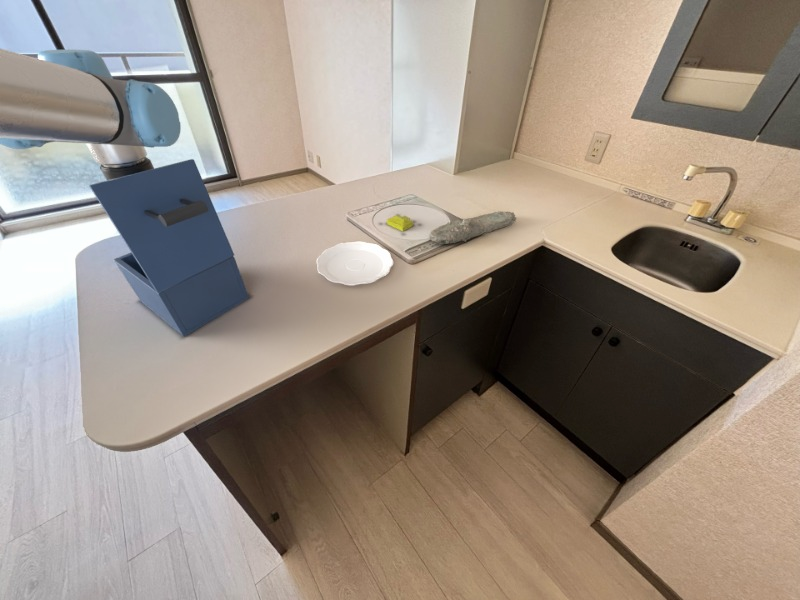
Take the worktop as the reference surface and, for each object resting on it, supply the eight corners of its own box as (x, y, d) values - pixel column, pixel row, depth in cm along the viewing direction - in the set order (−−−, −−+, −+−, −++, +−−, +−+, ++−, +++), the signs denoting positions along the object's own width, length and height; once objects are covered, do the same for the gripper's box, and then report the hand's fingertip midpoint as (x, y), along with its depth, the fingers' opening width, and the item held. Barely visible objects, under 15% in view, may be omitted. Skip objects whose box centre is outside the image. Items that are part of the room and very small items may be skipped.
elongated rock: (521, 229, 112) (500, 218, 119) (525, 214, 109) (503, 204, 116) (441, 250, 97) (422, 237, 103) (443, 234, 94) (423, 221, 100)
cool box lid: (88, 185, 49) (110, 193, 45) (191, 158, 59) (217, 163, 55) (156, 291, 61) (178, 305, 57) (232, 254, 71) (256, 264, 67)
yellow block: (380, 224, 109) (380, 216, 107) (398, 215, 115) (398, 207, 113) (403, 234, 104) (403, 226, 103) (420, 224, 110) (421, 217, 108)
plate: (360, 238, 102) (360, 234, 101) (408, 267, 91) (408, 262, 90) (302, 264, 90) (301, 259, 89) (348, 300, 79) (348, 295, 78)
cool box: (140, 301, 77) (113, 259, 69) (205, 270, 87) (187, 230, 79) (184, 337, 69) (158, 293, 61) (249, 298, 79) (234, 256, 71)
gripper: (176, 167, 55) (220, 275, 70) (121, 144, 64) (171, 245, 79) (127, 180, 50) (186, 293, 65) (75, 153, 59) (138, 259, 74)
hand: (178, 267), depth 72 cm, fingers closed on milk carton, 7 cm apart
